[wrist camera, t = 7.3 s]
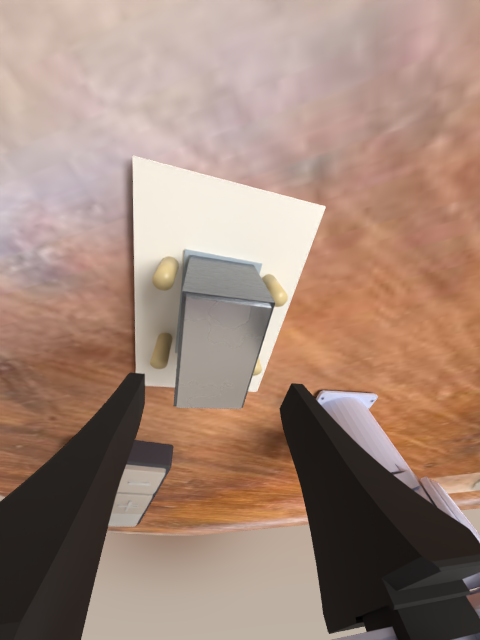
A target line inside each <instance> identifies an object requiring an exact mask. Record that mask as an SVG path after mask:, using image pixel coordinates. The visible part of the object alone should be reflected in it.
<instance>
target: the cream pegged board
mask: <svg viewBox="0 0 480 640" xmlns="http://www.w3.org/2000/svg"><path fill="white" fill-rule="evenodd" d="M325 208H326V207H325V206H322V205H318V204H314V203H310V202H307V201H303V200H299V199H295V198H291V197H288V196H284V195H280V194H276V193H273V192H269V191H265V190H261V189H258V188H254V187H250V186H246V185H242V184H239V183H235V182H231V181H227V180H224V179H220V178H216V177H212V176H209V175H205V174H201V173H197V172H193V171H190V170H186V169H182V168H178V167H175V166H171V165H167V164H163V163H160V162H156V161H152V160H148V159H144V158H141V157H137V156H133V220H134V286H135V352H136V373H142V374H145V386H158V387H175V381H176V368H177V355H178V342H179V329H180V316H181V303H182V291H183V286H184V282H185V277H186V273H187V268H188V264H189V259H190V255H196V256H202V257H208V258H215V259H221V260H227V261H233V262H239V263H245V264H251V265H254V266H255V268H256V270H257V271H258V273H259V275H260V277H261V278H262V280H263V282H264V284H265V285H266V287H267V289H268V291H269V292H270V294H271V296H272V298H273V299H274V301H275V306H274V309H273V312H272V315H271V319H270V322H269V325H268V328H267V331H266V335H265V338H264V341H263V344H262V347H261V351H260V354H259V357H258V360H257V363H256V367H255V370H254V373H253V376H252V379H251V383H250V386H249V389H248V391H251V392H257V390H258V388H259V385H260V382H261V379H262V377H263V374H264V371H265V369H266V366H267V363H268V361H269V358H270V355H271V353H272V350H273V347H274V345H275V342H276V339H277V337H278V334H279V331H280V328H281V326H282V323H283V320H284V318H285V315H286V312H287V310H288V307H289V304H290V302H291V299H292V296H293V294H294V291H295V288H296V286H297V283H298V280H299V277H300V275H301V272H302V269H303V267H304V264H305V261H306V259H307V256H308V253H309V251H310V248H311V245H312V243H313V240H314V237H315V234H316V232H317V229H318V226H319V224H320V221H321V218H322V216H323V213H324V210H325Z"/></svg>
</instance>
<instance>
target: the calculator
mask: <svg viewBox="0 0 480 640" xmlns="http://www.w3.org/2000/svg"><path fill="white" fill-rule="evenodd" d="M172 454H173V446H172V445H167V444H160V443H152V442H145V441H138V440H135V441H134V443H133V446H132V449H131V452H130V455H129V458H128V461H127V464H126V467H125V469H124V472H123V475H122V478H121V481H120V484H119V487H118V491H117V494H116V498H115V501H114V505H113V509H112V513H111V517H110V521H109V525H108V526H116V527H134V526H136V525H138V524H139V523H140V521H141V519H142V518H143V516H144V514H145V512H146V511H147V509H148V507H149V505H150V504H151V502H152V500H153V498H154V497H155V495H156V493H157V491H158V489H159V488H160V486H161V484H162V482H163V481H164V479H165V477H166V475H167V474H168V472H169V470H170V468H171V463H172Z"/></svg>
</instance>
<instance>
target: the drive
mask: <svg viewBox="0 0 480 640" xmlns="http://www.w3.org/2000/svg"><path fill="white" fill-rule="evenodd" d="M274 306H275V301H274V299H273V298H272V296H271V294H270V292H269V291H268V289H267V287H266V285H265V284H264V282H263V280H262V278H261V277H260V275H259V273H258V271H257V270H256V268H255V266H254V265H251V264H245V263H239V262H233V261H227V260H221V259H215V258H208V257H202V256H196V255H190V259H189V264H188V268H187V273H186V277H185V282H184V286H183V291H182V303H181V316H180V329H179V342H178V355H177V368H176V381H175V394H174V406H177V408H218V409H241V408H243V405H244V402H245V399H246V395H247V392H248V389H249V386H250V383H251V379H252V376H253V373H254V370H255V367H256V363H257V360H258V357H259V354H260V351H261V347H262V344H263V341H264V338H265V335H266V331H267V328H268V325H269V322H270V319H271V315H272V312H273V309H274Z"/></svg>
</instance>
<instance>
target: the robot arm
mask: <svg viewBox="0 0 480 640" xmlns="http://www.w3.org/2000/svg"><path fill="white" fill-rule="evenodd" d="M377 397H378V396H377V395H376V394H375V393H359V392H343V391H326V390H323V391H321V392H320V393H319V394H318V396H317V398H316V399H315V398H314V397H313V395H312V394H311V393H310V392H309V391H308V390H307V389H306V388H305V386H304V385H303V384H293V383H292V384H291V386H290V388H289V390H288V392H287V394H286V396H285V399H284V401H283V403H282V405H281V407H280V414H281V420H282V425H283V430H284V433H285V436H286V440H287V443H288V446H289V449H290V452H291V455H292V459H293V462H294V465H295V468H296V471H297V474H298V478H299V481H300V485H301V489H302V493H303V498H304V502H305V507H306V512H307V516H308V521H309V526H310V531H311V537H312V542H313V548H314V554H315V560H316V566H317V572H318V579H319V586H320V593H321V600H322V608H323V615H324V618H325V622H326V626H327V629H328V632H329V634H331V633H335V632H339V631H345V630H350V629H354V628H359V627H364V626H365V628H366V631H367V632H365V633H361V634H356V635H351V636H347V637H342V638H338V639H333V640H480V535H479V533H478V532H477V531H476V530H475V528H474V527H473V526H472V524H471V523H470V522H469V520H468V519H467V518H466V517H465V515H464V514H463V513H462V511H461V510H460V509H459V508H458V506H457V505H456V504H455V503H454V501H453V500H452V499H451V498H450V496H449V495H448V494H447V493H446V491H445V490H444V489H443V488H442V487H441V485H440V484H439V483H438V482H436V481H434V480H431V479H429V478H428V477H423V478H421V479H419V478H418V477H417V476H416V475H415V474H414V473H413V472H412V471H411V469H410V468H409V466H408V465H407V463H406V462H405V461H404V459H403V458H402V456H401V455H400V454H399V452H398V451H397V449H396V448H395V447H394V445H393V444H392V442H391V441H390V440H389V438H388V437H387V435H386V434H385V432H384V431H383V430H382V428H381V427H380V425H379V424H378V423H377V421H376V420H375V418H374V417H373V416H372V414H371V413H370V411H369V410H368V409H369V408H370V407H371V406H372V404H373V403H374V402H375V400H376V399H377ZM144 404H145V374H142V373H129V374H128V375H127V376H126V378H125V379H124V380H123V382H122V383H121V384H120V386H119V387H118V388H117V390H116V391H115V392H114V393H113V394H112V396H111V397H110V398H109V399H108V400H107V402H106V403H105V404H104V405H103V406H102V407H101V408H100V410H99V411H98V412H97V413H96V414H95V415H94V416H93V417H92V418H91V419H90V421H89V422H88V423H87V424H86V425H85V426H84V427H83V428H82V429H81V430H80V431H79V432H78V433H77V434H76V435H75V436H74V437H73V438H72V439H71V440H70V441H69V442H68V443H67V444H66V445H65V446H64V447H63V448H62V449H61V450H60V451H58V452H57V453H56V454H55V455H54V456H53V457H52V458H51V459H50V460H49V461H48V462H47V463H45V464H44V465H43V466H42V467H41V468H40V469H39V470H37V471H36V472H35V473H34V474H33V475H32V476H30V477H29V478H28V479H27V480H26V481H25V482H24V483H22V484H21V485H20V486H19V487H18V488H16V489H15V490H14V491H13V492H12V493H10V494H9V495H8V496H7V497H5V498H4V499H3V500H2V501H0V640H81V637H82V633H83V628H84V624H85V620H86V615H87V611H88V606H89V602H90V598H91V594H92V590H93V586H94V581H95V577H96V573H97V569H98V565H99V561H100V557H101V552H102V548H103V544H104V541H105V536H106V533H107V529H108V525H109V521H110V517H111V513H112V509H113V505H114V501H115V498H116V494H117V491H118V487H119V484H120V481H121V478H122V475H123V472H124V469H125V467H126V464H127V461H128V458H129V455H130V452H131V449H132V446H133V443H134V441H135V438H136V435H137V432H138V429H139V426H140V421H141V417H142V413H143V409H144ZM477 587H479V588H477ZM473 588H477V589H476V590H473V591H469V590H470V589H473Z"/></svg>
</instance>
